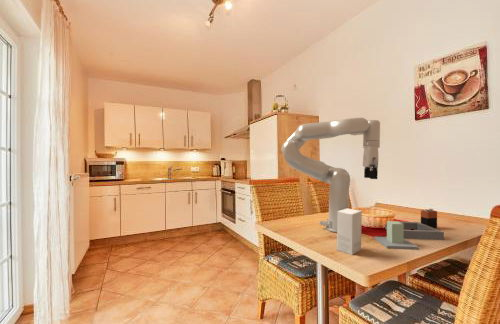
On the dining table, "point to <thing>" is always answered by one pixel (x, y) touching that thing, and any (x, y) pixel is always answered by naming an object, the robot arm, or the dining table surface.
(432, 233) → the grey square frame
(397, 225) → the green box
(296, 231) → the dining table surface
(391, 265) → the dining table surface
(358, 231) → the skincare box
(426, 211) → the battery
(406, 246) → the mat
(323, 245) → the dining table surface
